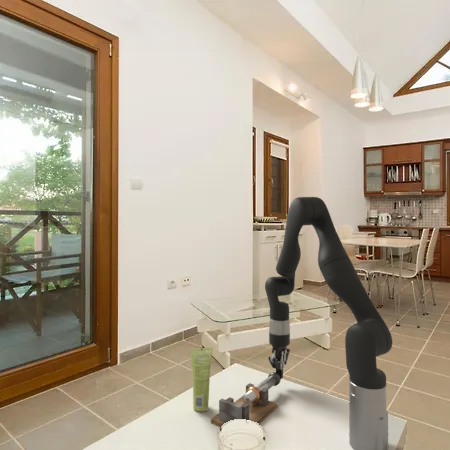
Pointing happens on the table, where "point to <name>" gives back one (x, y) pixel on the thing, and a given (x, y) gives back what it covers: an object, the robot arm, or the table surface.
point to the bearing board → (253, 412)
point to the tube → (201, 377)
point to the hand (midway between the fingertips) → (279, 378)
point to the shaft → (260, 388)
